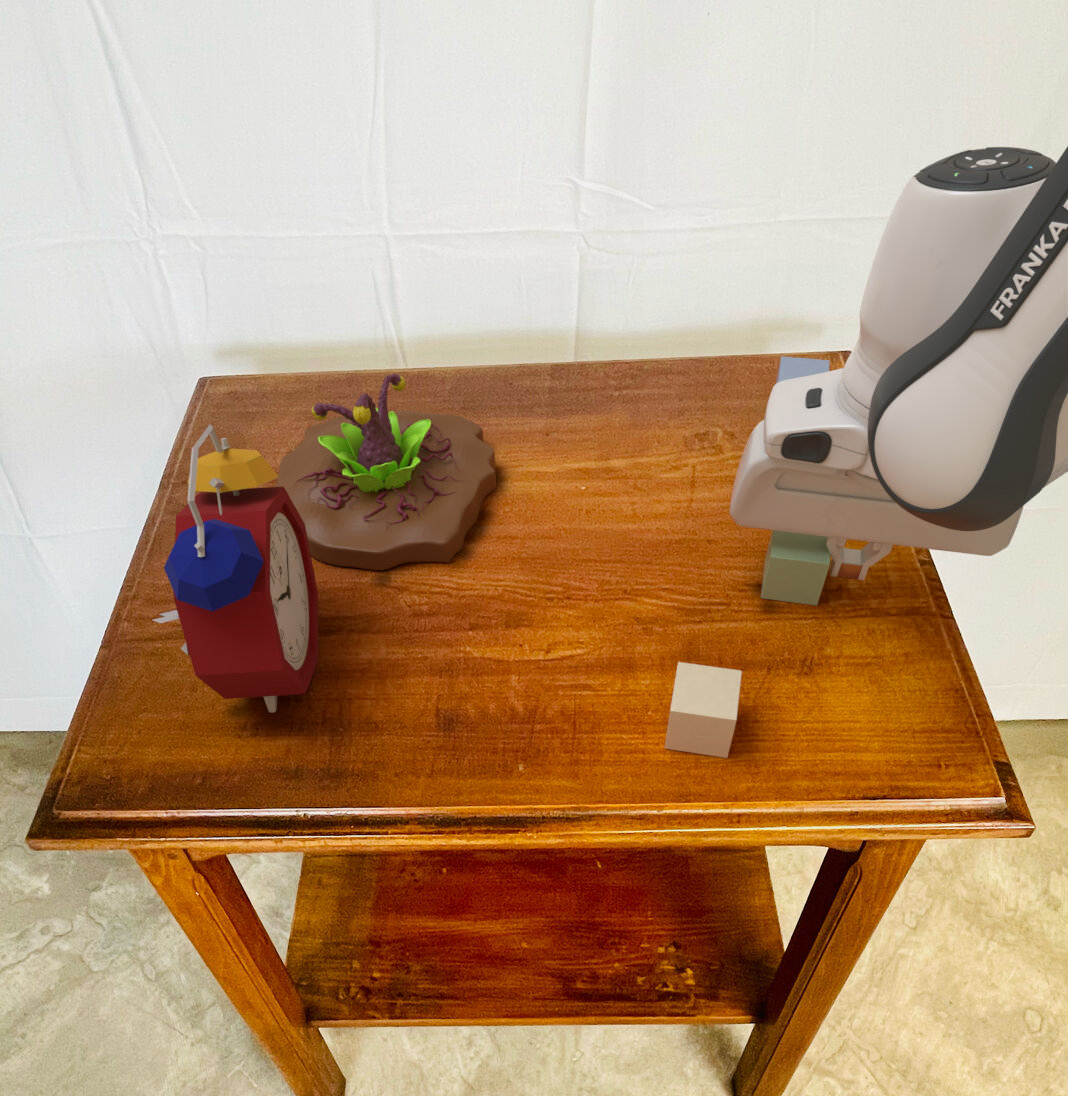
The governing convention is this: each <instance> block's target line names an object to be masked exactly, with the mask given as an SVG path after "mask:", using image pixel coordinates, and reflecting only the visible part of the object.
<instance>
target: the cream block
mask: <svg viewBox="0 0 1068 1096" xmlns="http://www.w3.org/2000/svg"><path fill="white" fill-rule="evenodd" d="M742 675H743V671H742V670H740V669H733V668H725V667H718V666H711V665H703V664H697V663H690V662H682V661H678V662H677V666H676V671H675V678H674V683H673V689H672V690H673V691H672V697H671V702H670V709H669V716H668V722H667V730H666V735H665V736H666V737H665V741H664V742H665V743H664V749H666V750H672V751H678V752H684V753H690V754H697V755H705V756H711V757H717V758H722V759H723V758H724V759H728V757H729V754H730V753H729V752H730V750H731V745H732V741H733V737H734V734H735V729H736V725H737V721H738V712H739V703H740V694H741V684H742Z"/></svg>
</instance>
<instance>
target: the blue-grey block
mask: <svg viewBox="0 0 1068 1096" xmlns="http://www.w3.org/2000/svg"><path fill="white" fill-rule="evenodd" d="M830 362H831V361H830V360H829V359H819V358H807V357H806V358H805V357H796V356H795V357H794V356H783V355H781V356H780V359H779V365H778V369H777V375H776V380H775V384H777V383H778V382H781V381H784V380H788V379H793V378H799V377H804V376H810V375H815V374H820V373H824V372H829V371H830Z"/></svg>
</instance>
